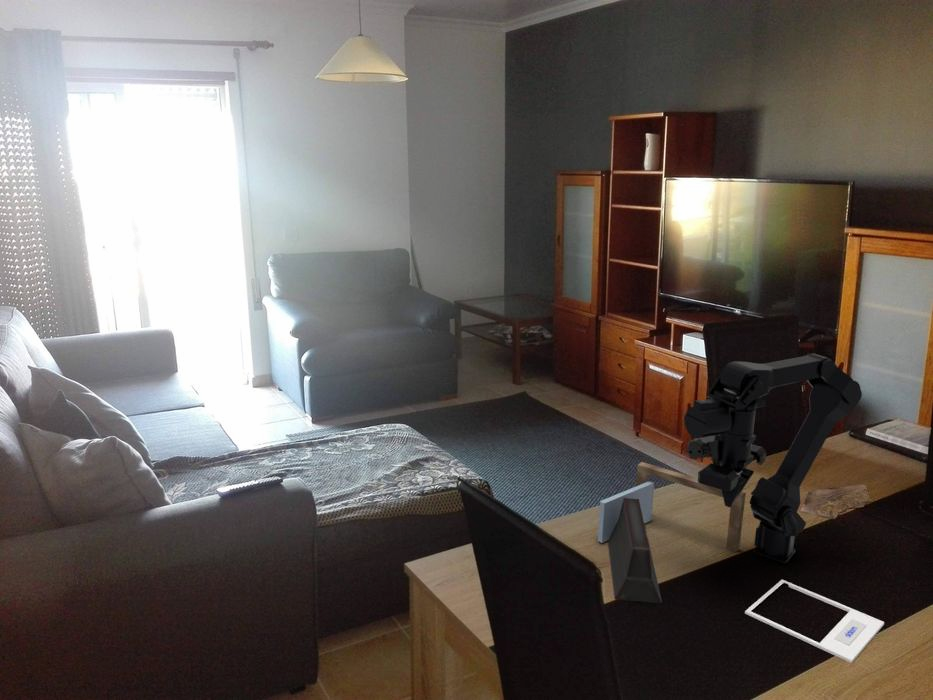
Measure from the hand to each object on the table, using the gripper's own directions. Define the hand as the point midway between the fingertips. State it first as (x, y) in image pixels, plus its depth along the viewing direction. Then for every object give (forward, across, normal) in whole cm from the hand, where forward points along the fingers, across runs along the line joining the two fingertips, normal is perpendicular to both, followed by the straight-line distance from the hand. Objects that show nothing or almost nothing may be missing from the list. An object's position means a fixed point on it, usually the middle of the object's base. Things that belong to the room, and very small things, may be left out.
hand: (728, 506), depth 144 cm
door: (+13, 0, -22) cm, 25 cm away
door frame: (+13, -8, -11) cm, 19 cm away
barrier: (+14, +12, -13) cm, 22 cm away
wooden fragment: (+14, -46, +9) cm, 49 cm away
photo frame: (+14, +6, +19) cm, 24 cm away
